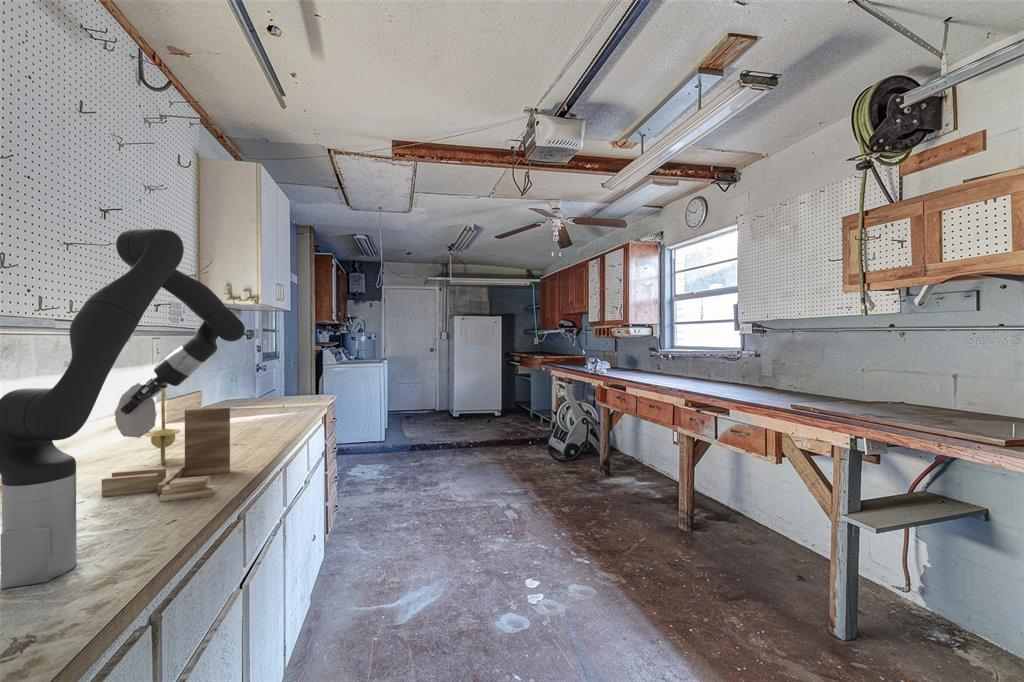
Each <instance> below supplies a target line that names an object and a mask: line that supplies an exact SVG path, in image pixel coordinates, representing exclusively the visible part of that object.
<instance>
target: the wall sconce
mask: <svg viewBox="0 0 1024 682" xmlns="http://www.w3.org/2000/svg"><path fill="white" fill-rule="evenodd" d="M165 399H166V389H165V390H163V391H161V392H160V411H161V413H160V414H161V428H159V429H157V430H150V431H149V432H147V433H146V434H144V435H143V436H145V437H150V443H151V444H152V446H154V447H155V448H158V449H160V464H161V465H163V464H165V462H166V448H168V447H170V446H171V445H173V444H174V442H175V440H176V434H178V433H180V432H181V430H180V429H177V428H176V429H175V428H174V429H173V428H166V406H165V405H166V400H165Z"/></svg>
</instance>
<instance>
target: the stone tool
mask: <svg viewBox="0 0 1024 682" xmlns="http://www.w3.org/2000/svg"><path fill="white" fill-rule="evenodd" d="M142 385H143V384H141V383H140V382H137V383H136V384H134V385H132V386H131V387H130V388H128V389H127V390H126V391H125V392H124V393H123V394H122V395H121V397H120V398H119V401H118V404H117V407H116V409H115V411H114V415H115V416H114V417H115V419H114V421H115V424H116V426H117V430H118V431H119V432H120V434H121V435H122V436H123V437H128V438H136V439H139V438H141V437H142V436H145V435H144V434H146V433H147V432H151V431H152V429H153V428H155V427H156V419H157V410H156V403H155V400H154V397H153V398H150V399H146V400H145V401H144V402H143V403H142V404H140V405H139V406H137V407H136V408H135V409H134V410H133V411H132V412H130V413H129V414H125V413H123V412H122V411H121V408H122V407H123V406H125V405H126V404H127V403H128V402H129V401H130V400H132V399H131V396H133V395H134V394H135V393H136V392H137V391H138V390H139V389H140V388H141V387H142ZM149 396H150V395H149ZM138 398H140V397H139V396H138ZM140 399H141V398H140Z"/></svg>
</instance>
